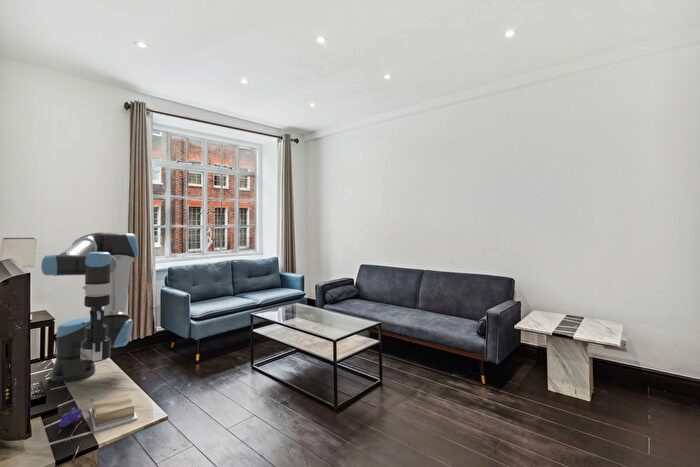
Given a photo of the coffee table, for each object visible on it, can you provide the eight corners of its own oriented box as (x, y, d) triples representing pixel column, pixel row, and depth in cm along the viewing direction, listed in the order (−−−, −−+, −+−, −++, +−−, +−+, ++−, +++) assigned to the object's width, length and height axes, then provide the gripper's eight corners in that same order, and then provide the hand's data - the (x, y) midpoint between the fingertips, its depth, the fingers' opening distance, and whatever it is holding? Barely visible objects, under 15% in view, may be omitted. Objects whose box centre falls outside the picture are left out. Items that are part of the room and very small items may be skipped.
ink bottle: (74, 359, 126) (75, 326, 126) (101, 352, 134) (102, 321, 134) (88, 365, 122) (89, 331, 121) (115, 358, 129) (116, 325, 129)
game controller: (49, 413, 115) (86, 398, 121) (55, 438, 114) (92, 422, 121) (46, 418, 107) (86, 402, 113) (53, 445, 107) (92, 427, 113)
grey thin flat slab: (89, 410, 124) (89, 408, 124) (128, 400, 132) (128, 398, 132) (94, 431, 112) (94, 429, 112) (137, 419, 120) (137, 417, 120)
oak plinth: (91, 411, 123) (92, 402, 122) (128, 401, 130) (128, 393, 130) (95, 425, 114) (95, 416, 114) (134, 414, 122) (134, 405, 121)
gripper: (82, 290, 133) (81, 349, 133) (86, 301, 117) (85, 368, 117) (106, 288, 138) (104, 345, 138) (113, 299, 121) (112, 363, 122)
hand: (95, 356), depth 128 cm, fingers closed on ink bottle, 9 cm apart
